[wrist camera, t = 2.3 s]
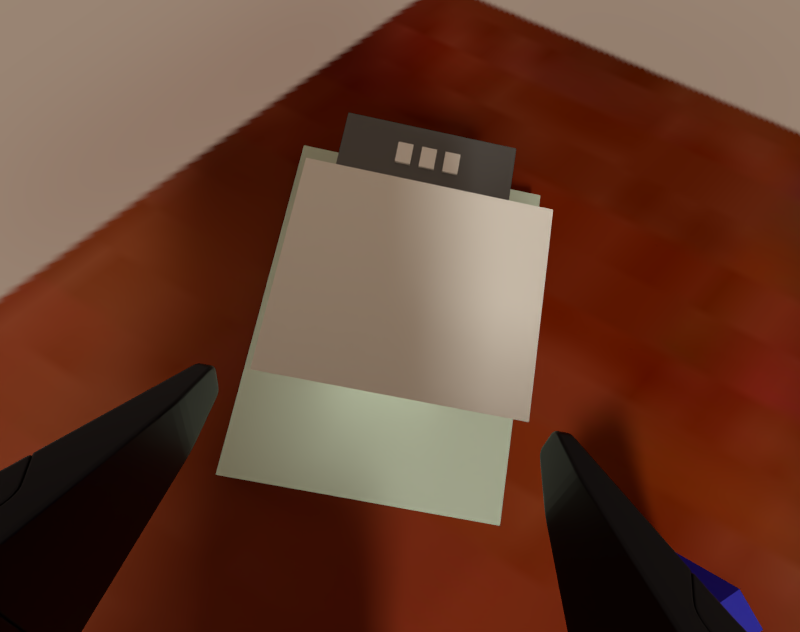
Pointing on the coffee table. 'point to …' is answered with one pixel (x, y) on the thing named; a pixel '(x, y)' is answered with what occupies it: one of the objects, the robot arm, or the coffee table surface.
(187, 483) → the coffee table surface
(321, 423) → the board
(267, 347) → the plug housing
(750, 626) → the cable clip
